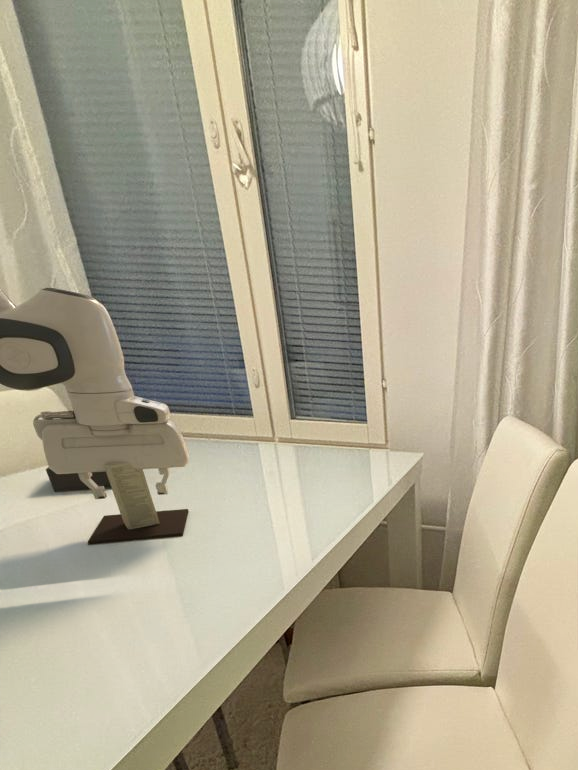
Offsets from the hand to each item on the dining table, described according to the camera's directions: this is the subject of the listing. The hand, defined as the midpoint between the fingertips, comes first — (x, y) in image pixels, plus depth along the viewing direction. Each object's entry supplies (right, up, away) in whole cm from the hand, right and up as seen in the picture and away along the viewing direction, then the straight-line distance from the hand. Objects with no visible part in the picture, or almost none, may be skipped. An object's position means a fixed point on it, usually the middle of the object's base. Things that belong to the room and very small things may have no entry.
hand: (132, 495), depth 94 cm
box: (0, -5, +3) cm, 5 cm away
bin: (-26, +10, +26) cm, 38 cm away
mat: (0, -5, +3) cm, 6 cm away
